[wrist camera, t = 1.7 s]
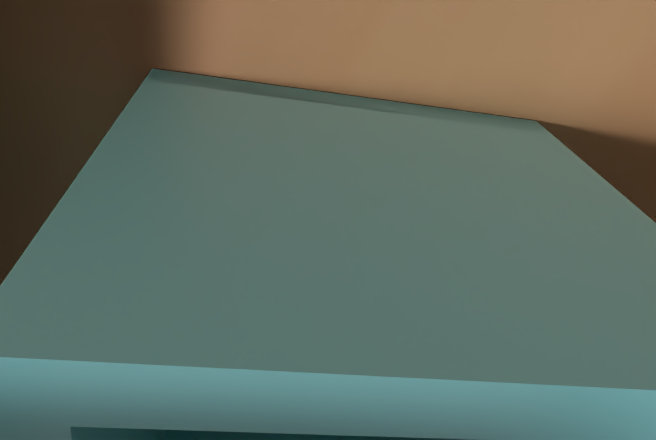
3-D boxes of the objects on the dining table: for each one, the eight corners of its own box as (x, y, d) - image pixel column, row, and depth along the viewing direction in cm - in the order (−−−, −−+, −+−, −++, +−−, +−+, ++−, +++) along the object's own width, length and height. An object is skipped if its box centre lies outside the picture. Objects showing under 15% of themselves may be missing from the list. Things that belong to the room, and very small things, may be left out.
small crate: (536, 120, 9) (864, 400, 4) (437, 380, 12) (551, 719, 7) (152, 68, 8) (-49, 355, 3) (152, 366, 11) (53, 749, 6)
